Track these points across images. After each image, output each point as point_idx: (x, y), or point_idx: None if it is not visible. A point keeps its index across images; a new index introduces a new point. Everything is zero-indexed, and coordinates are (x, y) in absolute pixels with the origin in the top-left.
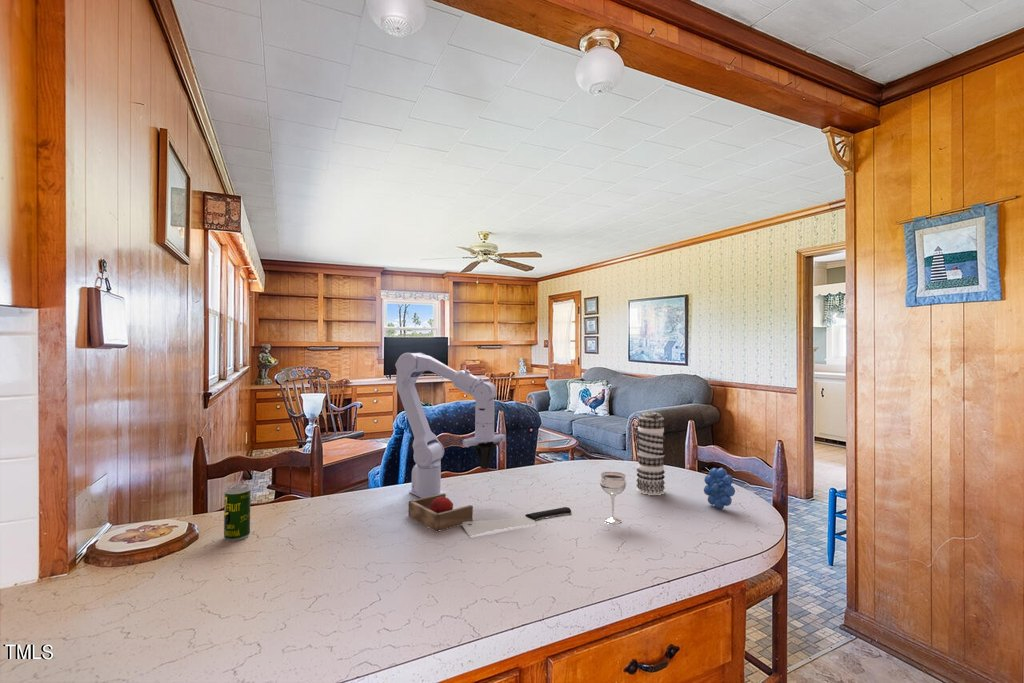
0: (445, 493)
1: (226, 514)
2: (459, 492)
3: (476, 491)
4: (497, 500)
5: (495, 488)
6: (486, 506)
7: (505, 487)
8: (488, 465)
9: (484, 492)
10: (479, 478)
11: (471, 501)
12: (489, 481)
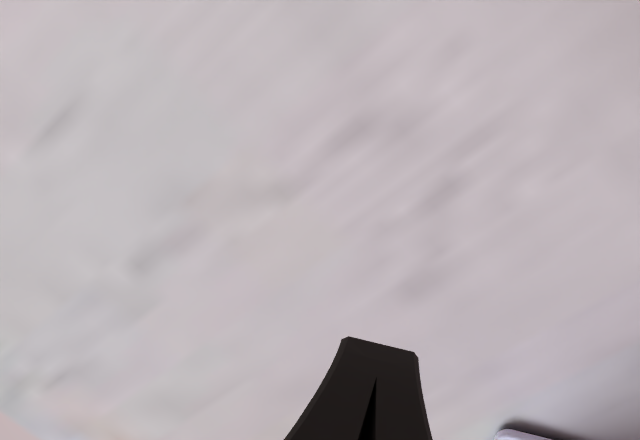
0: (512, 434)
1: None
2: None
3: (289, 315)
4: (338, 46)
5: (129, 252)
6: (564, 8)
7: (50, 210)
8: (342, 365)
9: (261, 261)
10: (88, 430)
11: (518, 210)
12: (69, 361)
